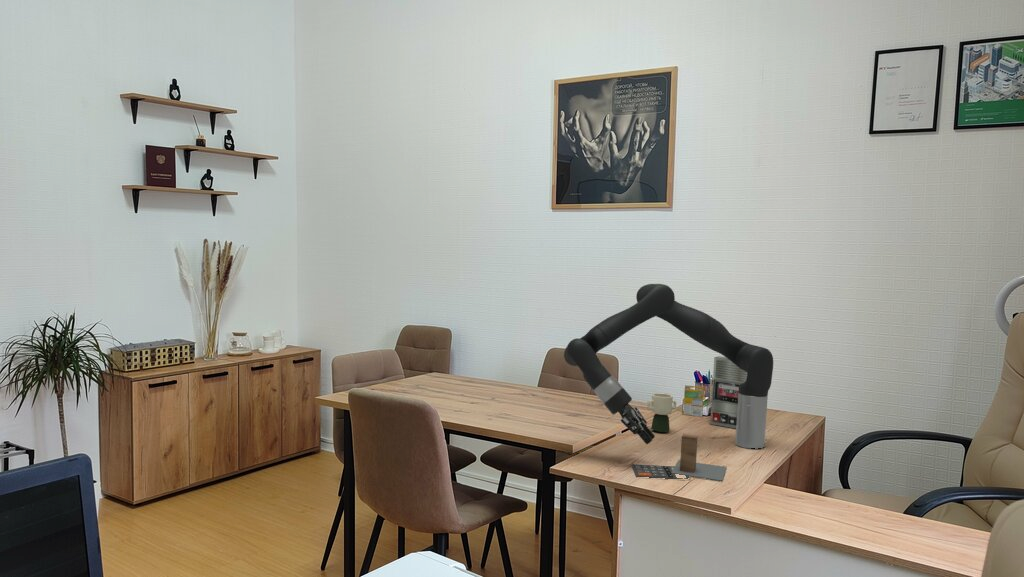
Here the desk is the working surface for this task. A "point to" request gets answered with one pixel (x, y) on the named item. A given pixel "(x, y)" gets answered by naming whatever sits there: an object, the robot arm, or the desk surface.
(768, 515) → the desk surface
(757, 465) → the desk surface
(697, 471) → the mat
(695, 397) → the crayon box
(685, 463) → the block
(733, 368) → the cassette tape recorder
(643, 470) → the calculator
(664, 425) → the character mug
